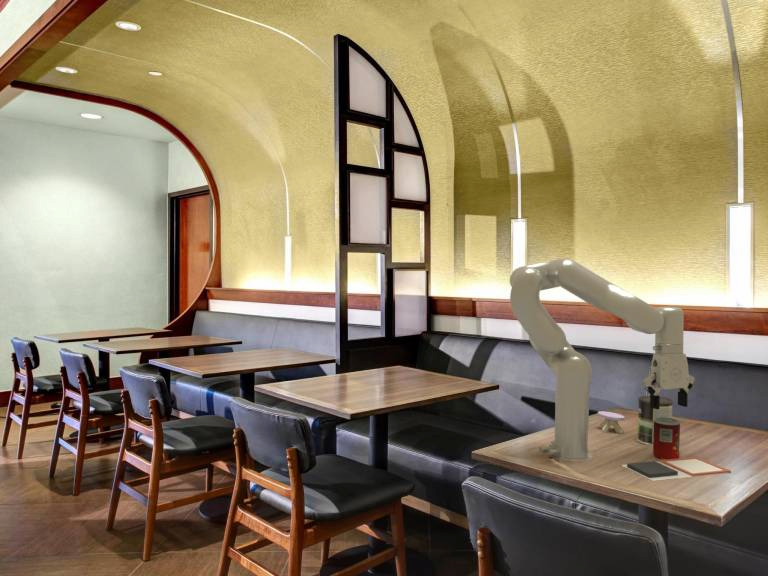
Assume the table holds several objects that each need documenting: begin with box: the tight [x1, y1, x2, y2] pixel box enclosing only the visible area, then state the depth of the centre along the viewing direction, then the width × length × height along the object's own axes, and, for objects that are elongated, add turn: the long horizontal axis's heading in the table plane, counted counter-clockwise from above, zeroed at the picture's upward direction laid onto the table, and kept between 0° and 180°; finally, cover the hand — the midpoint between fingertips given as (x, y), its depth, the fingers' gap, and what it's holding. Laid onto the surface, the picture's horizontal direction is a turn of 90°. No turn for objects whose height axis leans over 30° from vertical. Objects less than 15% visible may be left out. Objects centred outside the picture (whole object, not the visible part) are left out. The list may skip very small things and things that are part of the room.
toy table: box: [597, 410, 625, 434], centre depth 215 cm, size 10×9×6 cm
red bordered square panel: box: [659, 456, 732, 477], centre depth 173 cm, size 13×13×1 cm
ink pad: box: [626, 460, 678, 479], centre depth 169 cm, size 9×9×1 cm
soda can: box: [652, 417, 681, 460], centre depth 182 cm, size 7×7×12 cm
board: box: [621, 461, 727, 482], centre depth 171 cm, size 24×13×1 cm, turn 106°
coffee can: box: [636, 395, 674, 446], centre depth 201 cm, size 10×10×14 cm
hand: (668, 407), depth 181 cm, fingers open, 9 cm apart
